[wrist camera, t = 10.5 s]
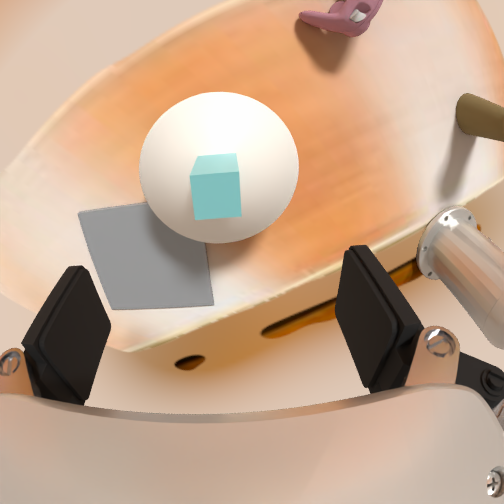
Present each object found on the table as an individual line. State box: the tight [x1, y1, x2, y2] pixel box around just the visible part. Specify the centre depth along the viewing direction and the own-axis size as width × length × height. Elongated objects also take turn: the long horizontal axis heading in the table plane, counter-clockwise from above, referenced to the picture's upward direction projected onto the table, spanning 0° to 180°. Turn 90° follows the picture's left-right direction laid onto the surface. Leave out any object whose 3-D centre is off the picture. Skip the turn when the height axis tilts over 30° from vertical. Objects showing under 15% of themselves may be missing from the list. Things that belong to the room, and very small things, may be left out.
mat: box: [78, 202, 214, 309], centre depth 34 cm, size 15×15×1 cm
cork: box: [456, 93, 504, 142], centre depth 22 cm, size 6×6×11 cm
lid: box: [139, 92, 299, 243], centre depth 20 cm, size 13×13×6 cm
